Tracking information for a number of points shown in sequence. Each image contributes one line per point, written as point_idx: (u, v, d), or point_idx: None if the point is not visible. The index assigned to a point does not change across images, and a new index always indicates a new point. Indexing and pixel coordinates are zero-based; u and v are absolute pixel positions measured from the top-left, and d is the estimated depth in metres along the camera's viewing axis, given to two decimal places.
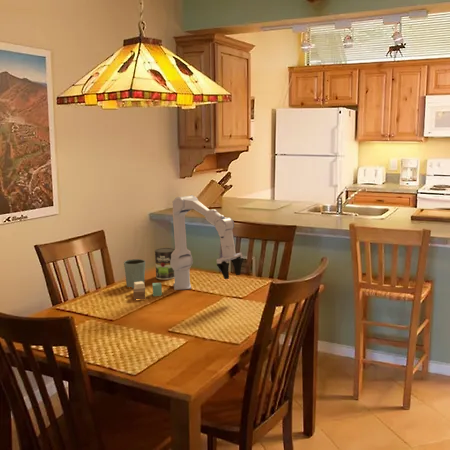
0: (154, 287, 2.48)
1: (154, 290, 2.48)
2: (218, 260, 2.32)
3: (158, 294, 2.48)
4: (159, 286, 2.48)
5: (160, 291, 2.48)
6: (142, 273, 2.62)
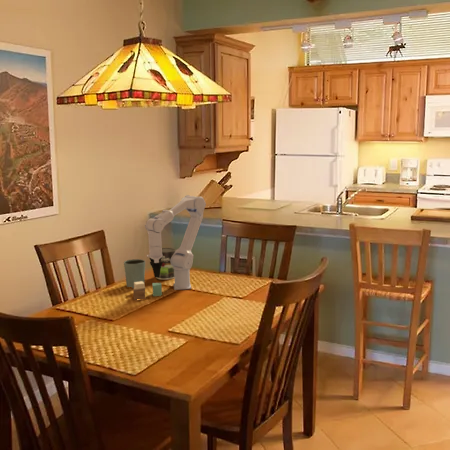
0: (154, 287, 2.48)
1: (154, 290, 2.48)
2: None
3: (158, 294, 2.48)
4: (159, 286, 2.48)
5: (160, 291, 2.48)
6: (142, 273, 2.62)
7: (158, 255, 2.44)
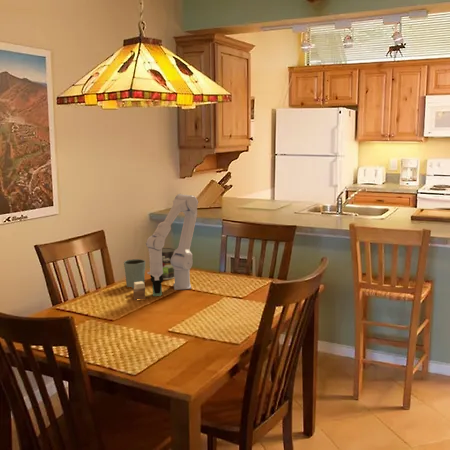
0: None
1: None
2: None
3: (158, 294, 2.48)
4: None
5: (160, 291, 2.48)
6: (142, 273, 2.62)
7: (159, 272, 2.46)
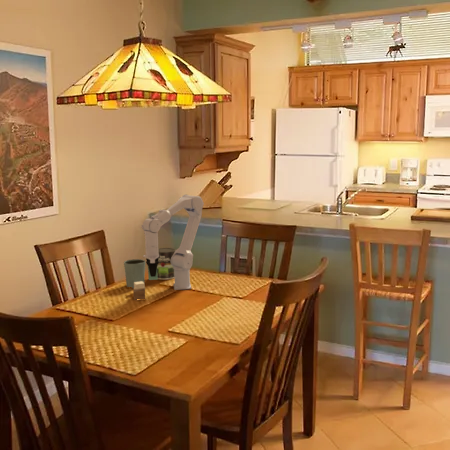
0: None
1: None
2: None
3: (154, 278, 2.46)
4: None
5: (156, 275, 2.46)
6: (142, 273, 2.62)
7: (154, 255, 2.44)
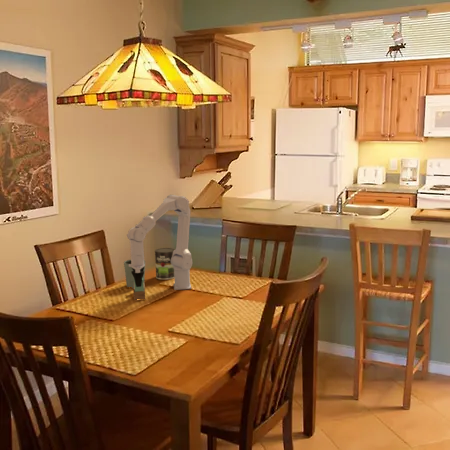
0: None
1: None
2: None
3: (140, 289, 2.43)
4: None
5: (142, 286, 2.43)
6: None
7: (140, 265, 2.40)
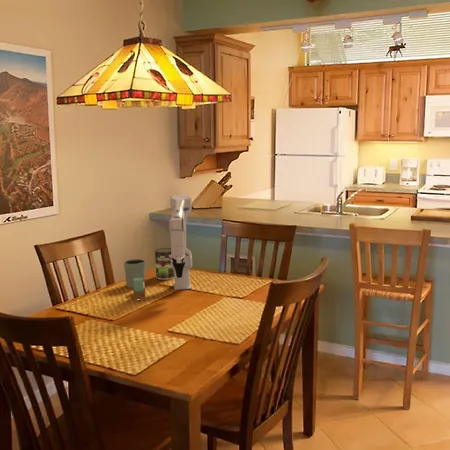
0: (135, 282, 2.42)
1: (135, 285, 2.42)
2: None
3: (139, 289, 2.43)
4: (140, 281, 2.42)
5: (141, 286, 2.43)
6: (142, 273, 2.62)
7: (180, 255, 2.39)
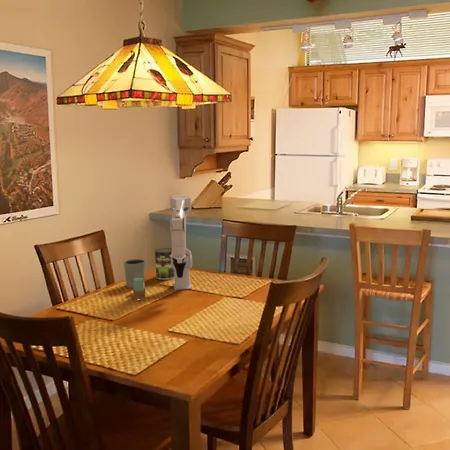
0: (135, 282, 2.42)
1: (135, 285, 2.42)
2: None
3: (140, 289, 2.43)
4: (141, 281, 2.42)
5: (142, 286, 2.43)
6: (142, 273, 2.62)
7: (181, 255, 2.39)
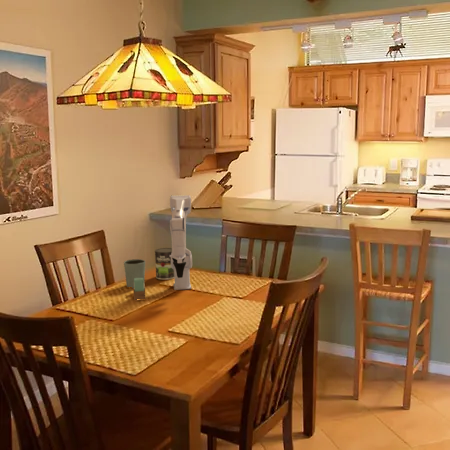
0: (136, 282, 2.42)
1: (136, 285, 2.42)
2: None
3: (140, 289, 2.43)
4: (141, 281, 2.42)
5: (142, 286, 2.43)
6: (142, 273, 2.62)
7: (181, 255, 2.39)
